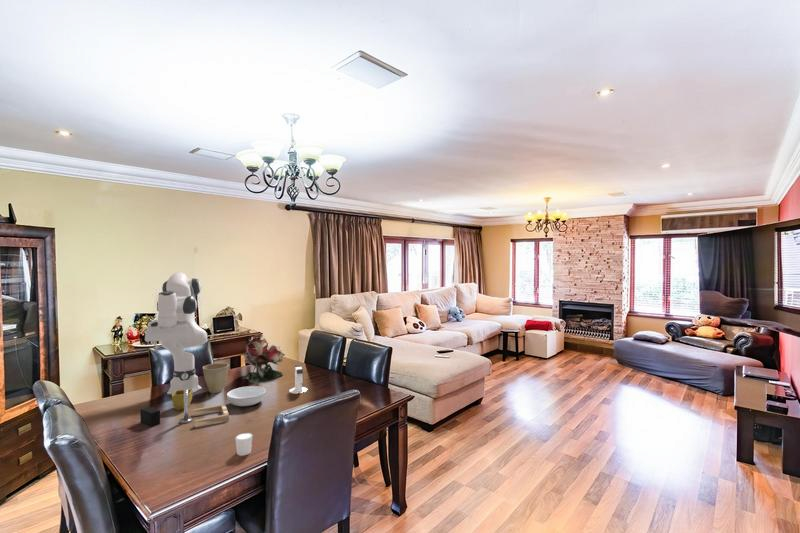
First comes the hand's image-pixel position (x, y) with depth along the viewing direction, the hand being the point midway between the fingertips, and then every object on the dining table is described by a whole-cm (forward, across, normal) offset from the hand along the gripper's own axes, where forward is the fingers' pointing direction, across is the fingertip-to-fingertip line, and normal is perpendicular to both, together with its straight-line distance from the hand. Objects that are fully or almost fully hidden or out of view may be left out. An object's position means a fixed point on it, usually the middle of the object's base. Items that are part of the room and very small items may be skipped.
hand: (167, 348), depth 202 cm
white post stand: (+36, -71, -4) cm, 80 cm away
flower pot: (+36, -7, -10) cm, 38 cm away
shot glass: (+38, -28, +61) cm, 77 cm away
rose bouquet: (+35, -57, -48) cm, 82 cm away
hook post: (+36, -8, +13) cm, 40 cm away
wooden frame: (+36, -19, +14) cm, 43 cm away
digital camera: (+36, +7, +4) cm, 37 cm away
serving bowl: (+36, -39, +2) cm, 53 cm away
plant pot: (+35, -26, -30) cm, 53 cm away
